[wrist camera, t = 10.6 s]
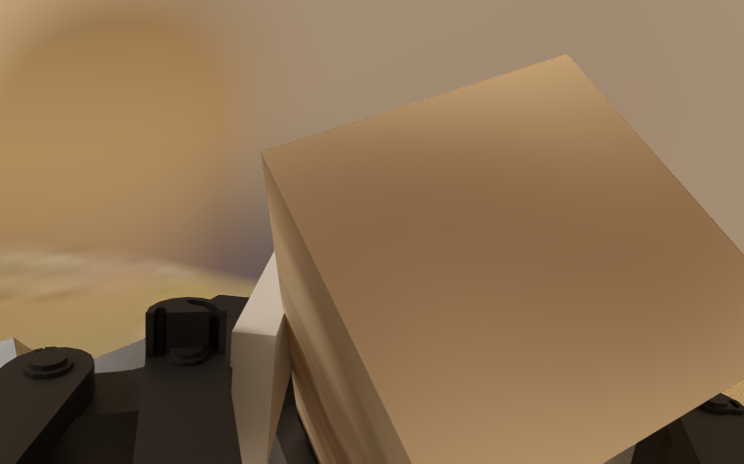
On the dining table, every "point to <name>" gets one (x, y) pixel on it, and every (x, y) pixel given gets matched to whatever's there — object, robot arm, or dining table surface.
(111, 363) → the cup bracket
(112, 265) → the dining table surface
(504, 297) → the wooden block
